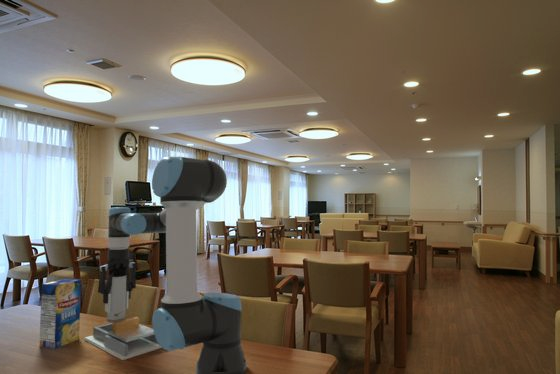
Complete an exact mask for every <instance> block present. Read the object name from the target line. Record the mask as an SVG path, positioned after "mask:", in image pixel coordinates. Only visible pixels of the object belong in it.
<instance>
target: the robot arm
mask: <svg viewBox="0 0 560 374" xmlns="http://www.w3.org/2000/svg"><path fill="white" fill-rule="evenodd" d="M227 178H228V177H227V174H226V172H225V170H224V168H223V167H222V166H221V165H220V164H219V163H217V162H216V161H213V160H210V159H203V158H202V159H201V158H199V159H198V158H193V157H184V156H165V157H163V158H162V159H160V160H159V161H158V163H157V164H156V166H155V168H154V170H153V174H152V179H151V189H152V191H153V194H154V195H155V196H157V197H158V198H159V199H160V200H159V201H160V205H161V206H162V207H163V208H164V209H162V210H161V211H160V212H147V213H146V212H135V213H134V212H131V208H129V207H110V208H109V212H108V216H107V218H108V233H107V235H108V236H107V238H108V239H107V247H108V249H107V262H106V264H104V265H100V266H99V267H98V269H99V278H98V279H99V280H98V288H97V289H98V290H97V293H98V294H101V295H102V296H103V297H102V303H103V304H104V312H106V313H107V312H108V313H110V312H111V294H109V292H110V289H111V286H112V279H113V278H112V276H114V272H113V273H112V274H111V275H110V274H109V272H107V271H109V270H114V269H121V268H122V267H127V269H126V309H125V310H128V309H129V300H130V299H131V295H132V293H131V292H132V291H133V289H136V287H137V282H136V281H137V280H136V267H137V262H133V261H132V262H131V261H130V248H129V247H130V240H131V239H130V238H131V236H136V235H139V234H141V235H142V234H162V233H163V234H165V255H166V256H165V264H166V267H165V270H166V271H165V272H166V273H165V277H166V279H165V280H166V281H165V282H166V284H165V285H166V286H165V287H166V293H165V295H163V297H162V298H161V299H160V307H159V308H157V309H156V310H155V311H154V312H153V315H152V322H151V323H152V329H153V330H154V334H155V337H156V339H157V341H158V343H159V344H160V346H161V347H162V348H161V349H163V350H164V351H169V352H172V351H177V350H183V349H186V348H189V347H192V346H195V345H199V344H202V347H201V351H200V354H199V358H198V360H197V362H196V366H195V367H196V370H195V371H196V374H245V373H246V372H245V371H247V360H246V358H245V353H244V350H243V347H242V312H243V309H242V299H241V298H240V297H239V296H238V295H236V294H233V293H226V292H206V293H204V295H202V294H201V293H200V292H199V291H198V248H197V247H198V246H197V245H198V244H197V242H198V241H197V240H198V239H197V232H198V231H197V210H199V209H201V207H203V206H204V205H206V204H211V203H213V202H215V201H216V200H218V199H219V198H220V197H221V196H222V195H223V194H224V192H225V191H226V188H227V184H228V182H227V180H228V179H227ZM127 270H128V271H127ZM128 274H129V275H128ZM109 275H110V276H109ZM106 278H107V279H106Z"/></svg>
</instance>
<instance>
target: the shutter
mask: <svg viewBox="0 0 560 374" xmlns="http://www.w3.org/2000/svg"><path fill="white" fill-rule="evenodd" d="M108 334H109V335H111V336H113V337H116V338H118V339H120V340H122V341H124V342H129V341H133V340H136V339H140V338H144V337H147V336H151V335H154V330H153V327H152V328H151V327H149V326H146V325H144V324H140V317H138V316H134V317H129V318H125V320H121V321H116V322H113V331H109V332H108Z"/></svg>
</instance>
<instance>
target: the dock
mask: <svg viewBox="0 0 560 374" xmlns="http://www.w3.org/2000/svg"><path fill="white" fill-rule="evenodd" d="M109 331H113V323H110V322H109V323H106V324H102V325H96V326H94V327H93V329H92V332H93V333H92V335H89V336H86V337H84V341H85V342H87V343H89V344H90V345H93V346H95V347H97V348H99V349H101V350H103V351H104V352H106V353H108V354H109V355H112V356H113V357H116V358H117V359H119V360H121V361H124V360H127V359H130V358H134V357H137V356H141V355H145V354H146V353H149V352H152V351H157V350H159V349H163V348H162V347H161V346H160V344H159V343H158V341H157V339H156V337H155V334H154V335H151V336H147V337H144V338H140V339H136V340H133V341H129V342H124V341H122V340H120V339H118V338H116V337H113V336H111V335H109V334H108V332H109Z"/></svg>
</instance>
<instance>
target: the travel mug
mask: <svg viewBox="0 0 560 374" xmlns="http://www.w3.org/2000/svg"><path fill="white" fill-rule="evenodd" d="M126 269H127V270H128V267H122V268H121V269H114V270H109V269H108V273H109V274H110V275H111V274H112V273H113V272H114V276H112V278H113V279H112V286H111V289H110V292H109V294H111V312H110V313H108V312H106V316H107V319H106V321H107V323H109V324H110V323H113V322H116V321H121V320H125V319H126V310H127V309H126ZM110 275H109V276H110Z"/></svg>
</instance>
